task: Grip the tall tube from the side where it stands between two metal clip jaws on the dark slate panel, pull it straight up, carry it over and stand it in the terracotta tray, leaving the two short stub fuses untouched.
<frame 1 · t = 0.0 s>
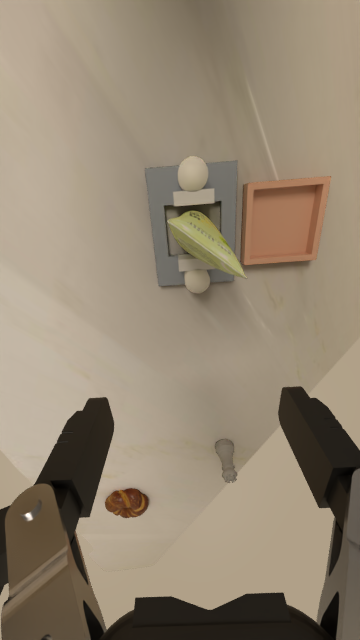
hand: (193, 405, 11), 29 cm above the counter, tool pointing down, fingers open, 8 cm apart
rook chess piece: (223, 443, 56), on the counter
tray: (277, 222, 35), on the counter
tube: (193, 229, 35), resting in fuse panel
fuse panel: (193, 229, 35), on the counter
pretzel: (128, 496, 67), on the counter
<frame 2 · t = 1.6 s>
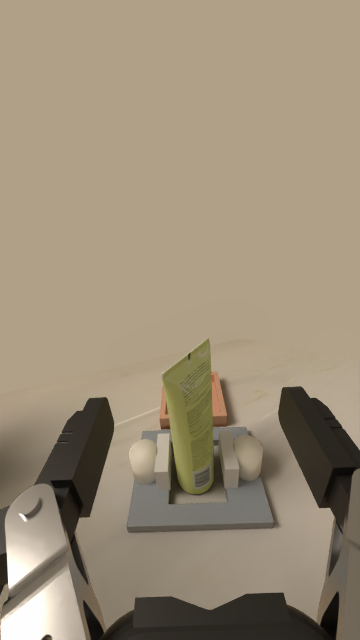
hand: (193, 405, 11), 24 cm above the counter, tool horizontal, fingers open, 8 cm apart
tray: (192, 402, 42), on the counter
tube: (196, 474, 31), resting in fuse panel
fuse panel: (196, 473, 31), on the counter
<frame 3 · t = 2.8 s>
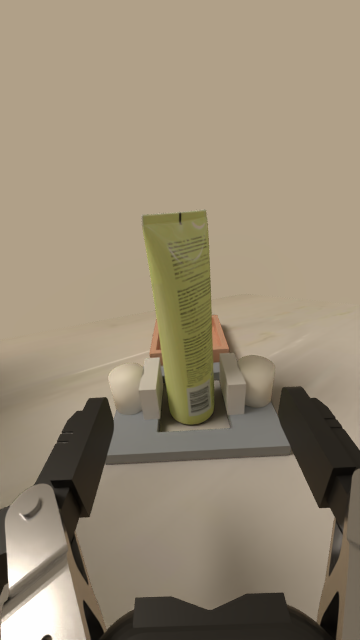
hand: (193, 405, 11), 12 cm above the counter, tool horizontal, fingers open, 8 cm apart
tray: (188, 345, 37), on the counter
tube: (193, 407, 26), resting in fuse panel
fuse panel: (192, 406, 26), on the counter
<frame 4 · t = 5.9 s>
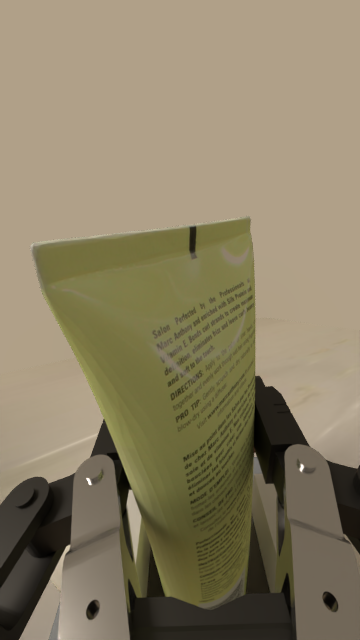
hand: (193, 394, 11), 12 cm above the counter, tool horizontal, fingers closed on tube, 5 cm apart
tube: (205, 570, 14), resting in fuse panel, touching gripper
fuse panel: (205, 568, 14), on the counter
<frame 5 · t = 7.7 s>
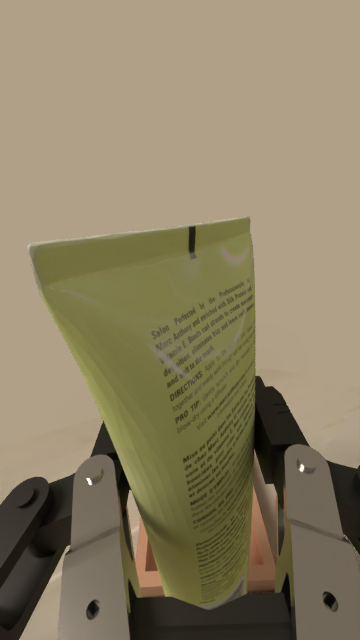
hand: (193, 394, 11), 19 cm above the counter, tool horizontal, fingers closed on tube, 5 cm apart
tray: (200, 513, 23), on the counter
tube: (206, 570, 14), point 7 cm above the counter, touching gripper
when the fingers open (13 cm above the counter, at t = 9.7 s): tube stays where it is, resting on tray.
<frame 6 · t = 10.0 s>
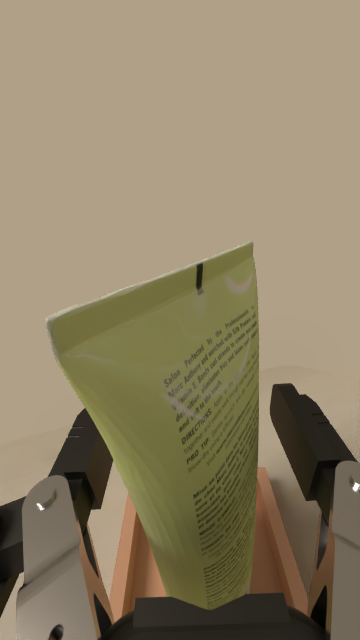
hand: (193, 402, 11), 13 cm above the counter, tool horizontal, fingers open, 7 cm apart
tray: (205, 578, 15), on the counter
tube: (208, 578, 15), resting on tray
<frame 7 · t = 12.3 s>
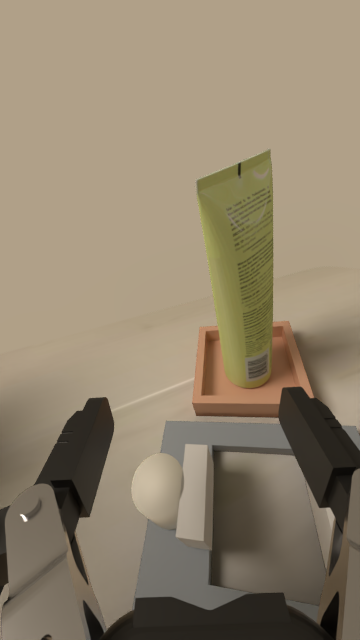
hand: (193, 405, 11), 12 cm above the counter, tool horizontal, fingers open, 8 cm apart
tray: (246, 371, 26), on the counter
tube: (248, 370, 26), resting on tray
fuse panel: (260, 512, 17), on the counter
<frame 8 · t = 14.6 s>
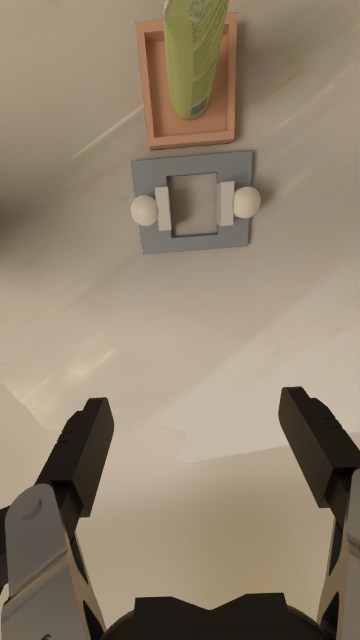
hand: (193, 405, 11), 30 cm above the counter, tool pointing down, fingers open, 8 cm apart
tray: (188, 94, 29), on the counter
tube: (190, 94, 28), resting on tray
fuse panel: (192, 206, 34), on the counter
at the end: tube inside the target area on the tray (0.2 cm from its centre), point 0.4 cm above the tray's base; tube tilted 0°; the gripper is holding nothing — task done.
